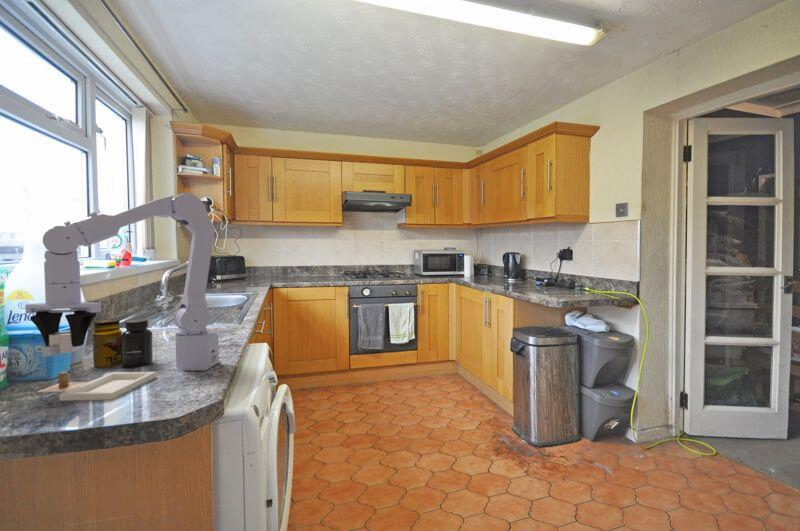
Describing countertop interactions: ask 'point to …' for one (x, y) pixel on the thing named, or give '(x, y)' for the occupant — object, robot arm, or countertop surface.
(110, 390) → the tray
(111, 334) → the condiment
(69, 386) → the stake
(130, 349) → the supplement bottle
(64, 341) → the ring
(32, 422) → the countertop surface
